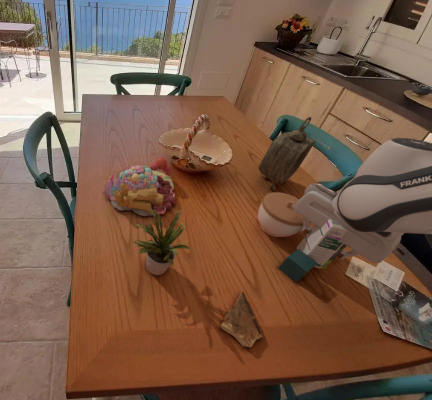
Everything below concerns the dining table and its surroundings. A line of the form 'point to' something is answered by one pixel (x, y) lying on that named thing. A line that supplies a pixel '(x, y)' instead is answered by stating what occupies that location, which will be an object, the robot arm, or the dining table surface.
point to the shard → (242, 323)
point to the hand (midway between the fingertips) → (321, 244)
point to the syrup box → (323, 243)
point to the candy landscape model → (143, 189)
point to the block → (297, 265)
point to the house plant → (161, 245)
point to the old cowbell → (286, 155)
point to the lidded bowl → (279, 215)
